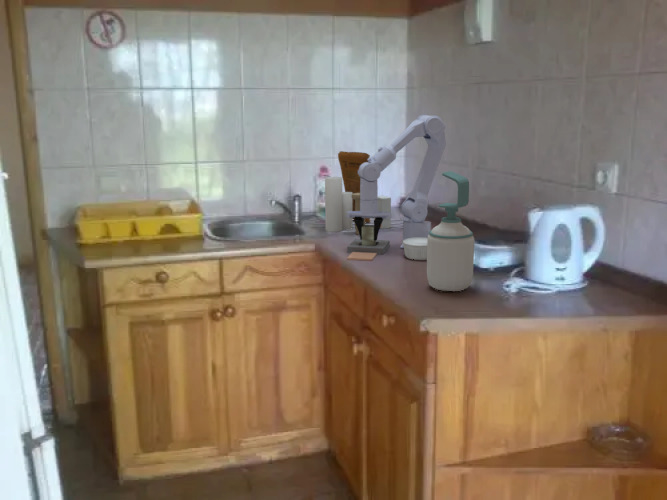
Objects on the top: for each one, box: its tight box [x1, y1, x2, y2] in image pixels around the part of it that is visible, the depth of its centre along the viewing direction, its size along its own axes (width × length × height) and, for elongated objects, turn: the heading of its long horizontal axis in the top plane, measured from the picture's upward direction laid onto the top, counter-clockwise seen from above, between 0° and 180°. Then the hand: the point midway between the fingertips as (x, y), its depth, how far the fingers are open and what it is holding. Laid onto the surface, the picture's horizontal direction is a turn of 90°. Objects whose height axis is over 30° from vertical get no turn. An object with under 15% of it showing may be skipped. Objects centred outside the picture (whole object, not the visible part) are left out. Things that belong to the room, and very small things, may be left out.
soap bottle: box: [426, 170, 475, 290], centre depth 182 cm, size 12×12×31 cm
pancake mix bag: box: [337, 151, 371, 223], centre depth 277 cm, size 7×19×28 cm, turn 32°
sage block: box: [362, 224, 376, 246], centre depth 229 cm, size 4×4×8 cm
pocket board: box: [346, 238, 391, 255], centre depth 230 cm, size 12×12×2 cm
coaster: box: [346, 252, 378, 262], centre depth 220 cm, size 8×8×1 cm
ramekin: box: [402, 237, 427, 261], centre depth 219 cm, size 11×11×5 cm
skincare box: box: [378, 195, 392, 230], centre depth 265 cm, size 6×4×12 cm
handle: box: [352, 193, 366, 236], centre depth 253 cm, size 5×6×15 cm
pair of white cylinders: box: [324, 176, 354, 233], centre depth 261 cm, size 11×7×20 cm, turn 136°
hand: (368, 239), depth 230 cm, fingers closed on sage block, 4 cm apart
